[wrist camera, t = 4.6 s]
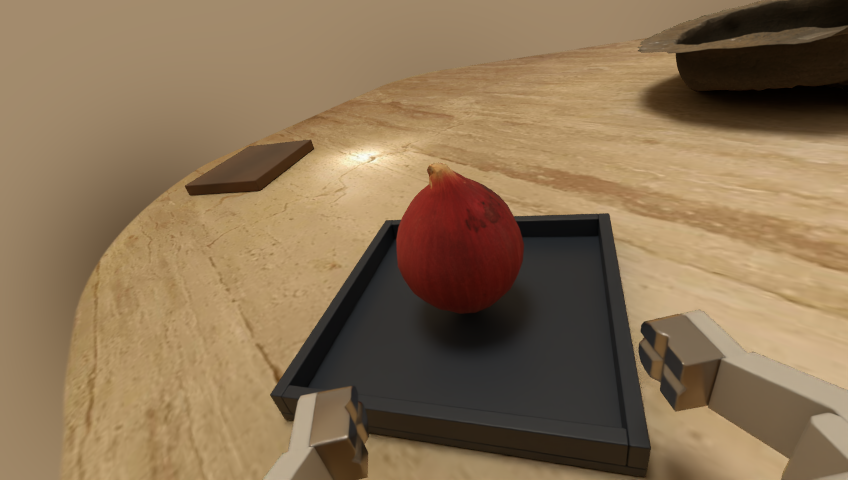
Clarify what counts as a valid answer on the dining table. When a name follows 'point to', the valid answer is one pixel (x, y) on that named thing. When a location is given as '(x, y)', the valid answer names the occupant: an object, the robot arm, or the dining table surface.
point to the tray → (491, 354)
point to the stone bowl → (761, 46)
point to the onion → (458, 243)
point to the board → (250, 168)
